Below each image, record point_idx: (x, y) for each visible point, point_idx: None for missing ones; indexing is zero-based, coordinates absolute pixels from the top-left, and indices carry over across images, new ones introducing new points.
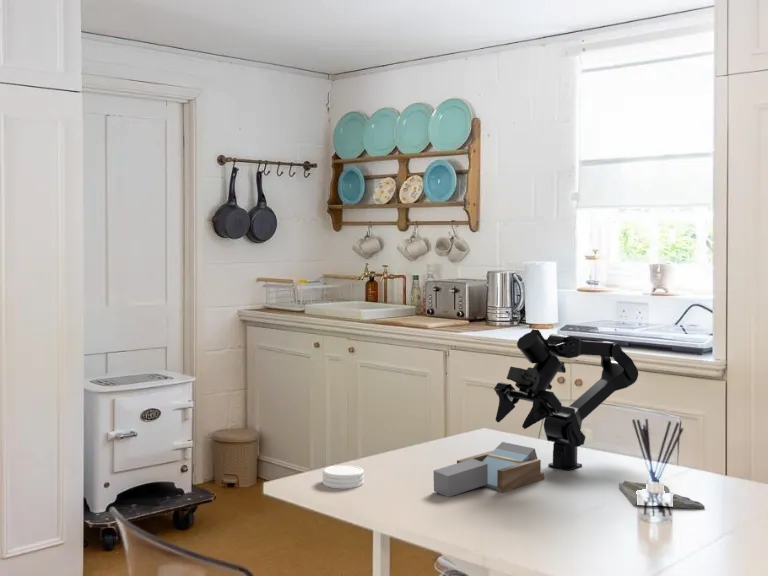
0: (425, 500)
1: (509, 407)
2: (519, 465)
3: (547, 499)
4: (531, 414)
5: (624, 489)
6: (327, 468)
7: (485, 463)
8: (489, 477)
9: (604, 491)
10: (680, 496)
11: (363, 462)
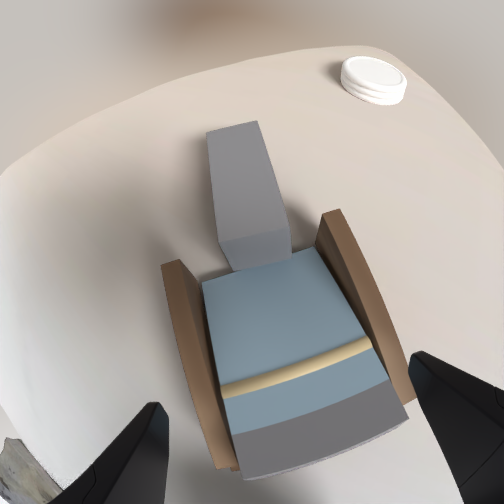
0: None
1: (474, 483)
2: (186, 357)
3: (91, 343)
4: (90, 465)
5: None
6: (387, 63)
7: (225, 239)
8: (253, 287)
9: None
10: None
11: (485, 156)
